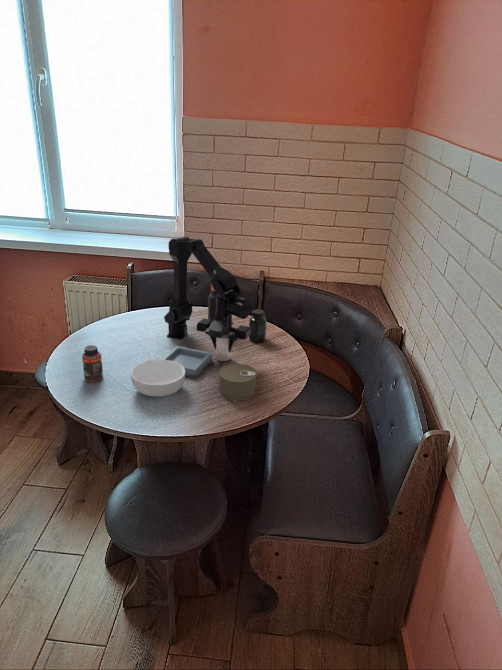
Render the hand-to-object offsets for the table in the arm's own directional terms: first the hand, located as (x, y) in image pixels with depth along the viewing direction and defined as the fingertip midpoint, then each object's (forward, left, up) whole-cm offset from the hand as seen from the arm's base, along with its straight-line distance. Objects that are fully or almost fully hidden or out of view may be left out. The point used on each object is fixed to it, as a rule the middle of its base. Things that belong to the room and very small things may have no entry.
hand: (222, 350), depth 179 cm
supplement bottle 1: (-33, -31, -4) cm, 45 cm away
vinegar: (-12, +22, -4) cm, 25 cm away
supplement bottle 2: (+6, +21, -4) cm, 22 cm away
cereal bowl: (-10, -29, -4) cm, 31 cm away
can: (+13, -19, -4) cm, 23 cm away
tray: (-10, -10, -3) cm, 15 cm away
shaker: (0, 0, -3) cm, 3 cm away
